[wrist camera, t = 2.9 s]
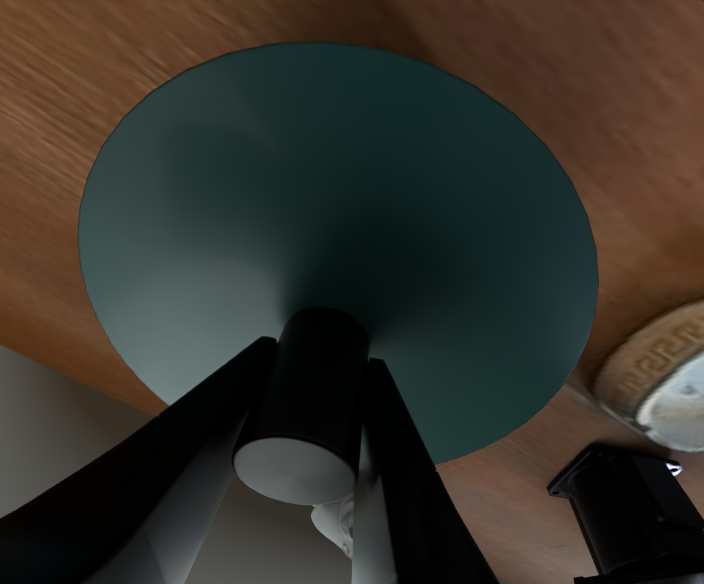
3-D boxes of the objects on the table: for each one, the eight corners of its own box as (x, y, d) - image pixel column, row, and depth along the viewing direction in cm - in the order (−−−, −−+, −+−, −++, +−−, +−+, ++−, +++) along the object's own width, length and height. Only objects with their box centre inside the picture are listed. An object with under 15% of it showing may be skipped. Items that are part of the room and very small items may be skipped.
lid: (718, 122, 7) (1187, 208, 3) (467, 474, 15) (496, 631, 11) (32, -25, 7) (-527, -161, 3) (148, 411, 15) (52, 546, 11)
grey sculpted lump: (416, 468, 28) (422, 575, 22) (341, 482, 30) (329, 582, 24) (382, 424, 25) (379, 533, 19) (304, 443, 27) (280, 545, 22)
